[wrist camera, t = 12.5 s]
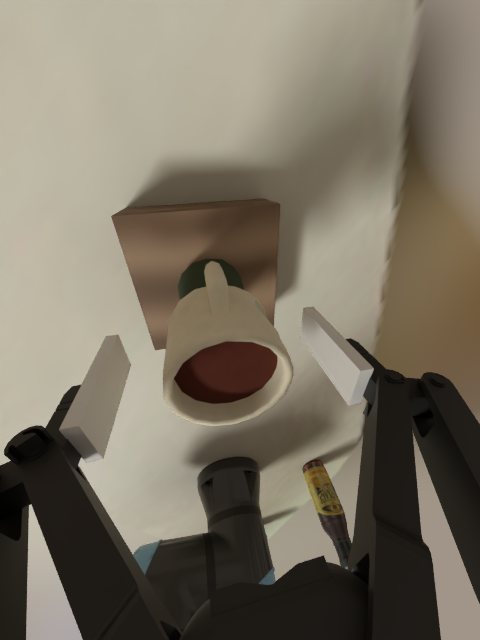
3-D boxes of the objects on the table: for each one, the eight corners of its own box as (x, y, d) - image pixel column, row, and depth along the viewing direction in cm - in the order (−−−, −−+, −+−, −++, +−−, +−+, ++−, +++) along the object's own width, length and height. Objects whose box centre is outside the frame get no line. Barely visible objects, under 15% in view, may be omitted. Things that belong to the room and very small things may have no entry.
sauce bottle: (325, 457, 62) (374, 558, 46) (317, 469, 66) (361, 567, 49) (303, 460, 61) (347, 566, 44) (297, 472, 64) (335, 575, 48)
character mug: (246, 325, 26) (287, 430, 16) (184, 334, 25) (182, 453, 15) (243, 226, 20) (306, 285, 10) (161, 233, 19) (129, 308, 9)
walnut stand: (262, 311, 32) (273, 331, 28) (159, 325, 30) (155, 350, 26) (264, 198, 24) (280, 204, 20) (125, 208, 22) (111, 216, 18)
